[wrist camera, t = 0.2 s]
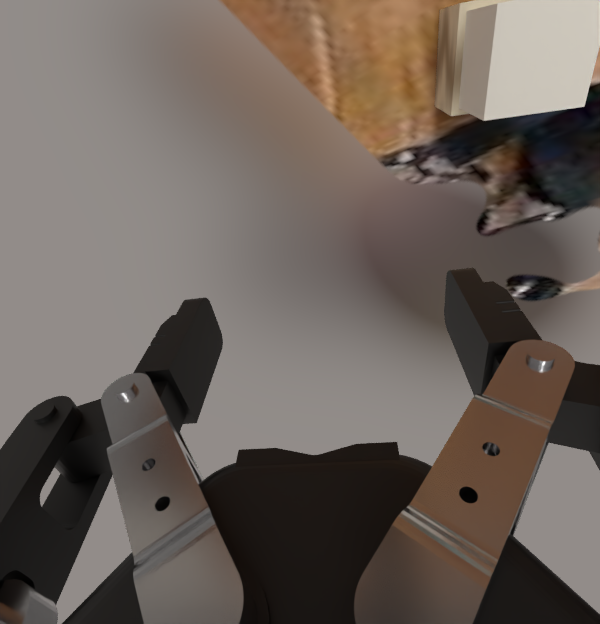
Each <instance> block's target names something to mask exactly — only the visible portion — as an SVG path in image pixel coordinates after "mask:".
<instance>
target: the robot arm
mask: <svg viewBox="0 0 600 624" xmlns="http://www.w3.org/2000/svg"><path fill="white" fill-rule="evenodd" d="M444 315H445V323H446V327H447V330H448V333H449V335H450V338H451V340H452V342H453V345H454V347H455V349H456V352H457V354H458V357H459V360H460V362H461V365H462V367H463V369H464V372H465V374H466V377H467V379H468V382H469V384H470V386H471V389H472V391H473V394H474V397H473V399H472V401H471V402H470V404H469V406H468V407H467V409H466V411H465V412H464V414H463V416H462V417H461V419H460V421H459V422H458V424H457V426H456V427H455V429H454V431H453V433H452V434H451V436H450V438H449V439H448V441H447V443H446V444H445V446H444V448H443V450H442V451H441V453H440V454H439V456H438V458H437V460H436V461H435V463H434V465H433V466H430V465H428V464H426V463H424V462H422V461H419V460H417V459H414V458H411V457H407V456H403V455H399V451H398V445H397V442H389V443H388V442H387V443H367V444H355V445H351V446H348V447H344V448H341V449H337V450H334V451H330V452H327V453H323V454H320V455H308V454H303V453H298V452H293V451H288V450H283V449H278V448H267V449H248V450H247V449H246V450H239V452H238V456H237V461H236V463H234V464H231V465H228V466H226V467H224V468H222V469H220V470H218V471H216V472H214V473H213V474H211V475H210V476H209V477H207V478H206V479H205V480H204V479H203V477H202V475H201V473H200V471H199V469H198V467H197V465H196V463H195V461H194V459H193V457H192V455H191V453H190V451H189V449H188V447H187V445H186V442H185V440H184V438H183V436H182V435H181V433H180V430H181V427H182V424H189V423H197V420H198V417H199V415H200V412H201V409H202V406H203V403H204V399H205V397H206V394H207V391H208V388H209V385H210V382H211V379H212V376H213V373H214V371H215V368H216V365H217V362H218V359H219V356H220V353H221V350H222V345H223V340H222V334H221V330H220V328H219V325H218V322H217V320H216V317H215V314H214V311H213V309H212V306H211V304H210V301H209V300H208V299H207V298H198V299H190V300H184V302H183V303H182V305H181V307H180V309H179V310H178V312H177V314H176V315H172V316H171V317H170V318H169V319H168V320H167V321H165V322H164V323H163V324H162V325H161V326H160V328H159V330H158V332H157V333H156V337H155V338H154V339H153V340H152V342H151V346H149V347H148V349H147V351H146V353H145V354H144V356H143V358H142V359H141V361H140V363H139V364H138V366H137V368H136V370H135V371H134V373H133V374H129V375H126V376H123V377H121V378H119V379H118V380H116V381H114V382H113V383H112V384H111V385H110V386H109V387H108V388H107V389H106V390H105V391H104V393H103V395H102V397H101V399H99V400H96V401H93V402H90V403H86V404H83V405H80V406H76V405H75V404H74V402H73V401H72V400H71V399H70V398H69V397H66V396H58V397H54V398H51V399H48V400H46V401H44V402H42V403H40V404H39V405H37V406H36V407H34V408H33V409H32V410H31V411H30V412H29V413H27V414H26V416H25V417H24V418H23V420H22V421H21V422H20V424H19V425H18V426H17V428H16V429H15V430H14V432H13V433H12V434H11V436H10V437H9V438H8V440H7V441H6V442H5V444H4V445H3V447H2V448H1V449H0V624H57V620H58V612H57V608H56V603H57V601H58V599H59V596H60V594H61V592H62V590H63V587H64V585H65V583H66V580H67V578H68V576H69V573H70V571H71V569H72V567H73V564H74V562H75V560H76V557H77V555H78V553H79V551H80V548H81V546H82V543H83V541H84V539H85V537H86V534H87V532H88V530H89V527H90V525H91V523H92V520H93V518H94V516H95V514H96V512H97V509H98V507H99V505H100V502H101V500H102V498H103V495H104V493H105V491H106V489H107V486H108V484H109V482H110V479H111V477H112V475H113V478H114V482H115V485H116V490H117V494H118V497H119V501H120V505H121V510H122V513H123V517H124V521H125V525H126V529H127V533H128V537H129V541H130V545H131V549H132V553H131V554H130V555H129V556H128V557H127V558H126V559H125V560H124V561H123V562H122V563H121V564H120V565H119V566H118V567H117V568H116V569H115V570H114V571H113V572H112V573H111V574H110V575H109V576H108V577H107V578H106V579H105V580H104V581H103V582H102V583H101V584H100V585H99V586H98V587H97V588H96V590H95V591H94V592H93V593H92V594H91V595H90V596H89V597H88V598H87V599H86V600H85V601H84V602H83V603H82V604H81V605H80V606H79V607H78V608H77V609H76V610H75V611H74V612H73V613H72V614H71V615H70V616H69V617H68V618H67V619H66V620H65V621H64V622H63V623H62V624H600V614H599V613H598V612H596V611H595V610H594V609H593V608H592V607H591V606H590V605H588V603H587V602H585V601H584V600H583V599H582V598H581V597H580V596H579V595H578V594H577V593H575V592H574V591H573V590H572V589H571V588H570V587H569V586H568V585H567V584H566V583H564V582H563V581H562V580H561V579H560V578H559V577H558V576H557V575H556V574H554V573H553V572H552V571H551V570H550V569H549V568H548V567H547V566H545V564H543V563H542V562H541V561H540V560H539V559H538V558H537V557H536V556H535V555H533V554H532V553H531V552H530V551H529V550H528V549H527V548H526V547H525V546H524V545H522V544H521V543H520V542H519V541H518V540H517V539H516V538H515V537H514V536H513V535H514V533H515V530H516V528H517V525H518V522H519V520H520V517H521V514H522V512H523V509H524V506H525V503H526V500H527V498H528V495H529V493H530V490H531V487H532V484H533V482H534V479H535V477H536V474H537V472H538V469H539V466H540V464H541V461H542V459H543V456H544V454H545V451H546V448H547V446H548V443H554V444H558V445H563V446H568V447H573V448H577V449H583V450H587V451H589V452H590V454H591V455H592V457H593V459H594V461H595V462H596V465H597V466H598V468H599V470H600V365H594V364H586V363H580V362H576V361H574V359H573V357H572V356H571V355H570V354H569V353H568V352H567V351H566V350H565V349H563V348H561V347H559V346H558V345H556V344H553V343H550V342H546V341H543V340H542V339H541V338H540V336H539V335H538V333H537V332H536V330H535V329H534V328H533V326H532V325H531V323H530V322H529V321H528V319H527V318H526V316H525V315H524V313H523V312H522V311H520V308H519V306H518V305H517V304H516V302H515V303H514V299H513V298H512V297H511V295H510V294H509V292H508V291H507V290H506V289H504V288H503V287H501V286H499V285H498V284H496V283H495V282H485V283H484V282H483V281H482V280H481V278H480V276H479V275H478V273H477V272H476V270H475V269H474V268H467V269H459V270H450V271H448V272H447V278H446V292H445V308H444ZM54 467H55V468H56V469H57V470H58V471H59V472H60V473H61V474H60V476H59V478H58V479H57V481H56V483H55V485H54V487H53V489H52V490H51V492H50V494H49V496H48V497H47V499H46V501H45V503H44V504H43V506H42V507H41V505H40V493H41V490H42V487H43V486H44V484H45V482H46V480H47V479H48V477H49V475H50V474H51V472H52V470H53V468H54Z"/></svg>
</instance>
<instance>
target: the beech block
mask: <svg viewBox="0 0 600 624" xmlns="http://www.w3.org/2000/svg"><path fill="white" fill-rule="evenodd" d="M507 1H513V0H475V1H469V2H464V3H459V4H456V5H453V6H450V7H447V8H444V9H441V10H440V15H439V34H438V52H437V70H436V88H435V107H437V108H438V109H440V110H441V111H443V112H445V113H446V114H448V115H450V116H457V115H464V114H469V113H467V112H465V111H463V110H461V109H459V96H460V84H461V72H462V60H463V49H464V37H465V25H466V13H467V11H469V10H473V9H477V8H481V7H485V6H489V5H493V4H497V3H502V2H507Z"/></svg>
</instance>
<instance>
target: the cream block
mask: <svg viewBox="0 0 600 624" xmlns="http://www.w3.org/2000/svg"><path fill="white" fill-rule="evenodd" d="M599 47H600V0H513V1H507V2H502V3H497V4H493V5H489V6H485V7H481V8H477V9H473V10H469V11H467V13H466V25H465V37H464V49H463V60H462V72H461V84H460V96H459V109H461V110H463V111H465V112H467V113H469V114H471V115H473V116H475V117H477V118H479V119H481V120H483V121H486V120H493V119H500V118H507V117H514V116H522V115H529V114H536V113H543V112H550V111H557V110H564V109H571V108H578V107H584V106H585V102H586V98H587V94H588V90H589V86H590V82H591V78H592V74H593V70H594V66H595V62H596V58H597V55H598V51H599Z"/></svg>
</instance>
